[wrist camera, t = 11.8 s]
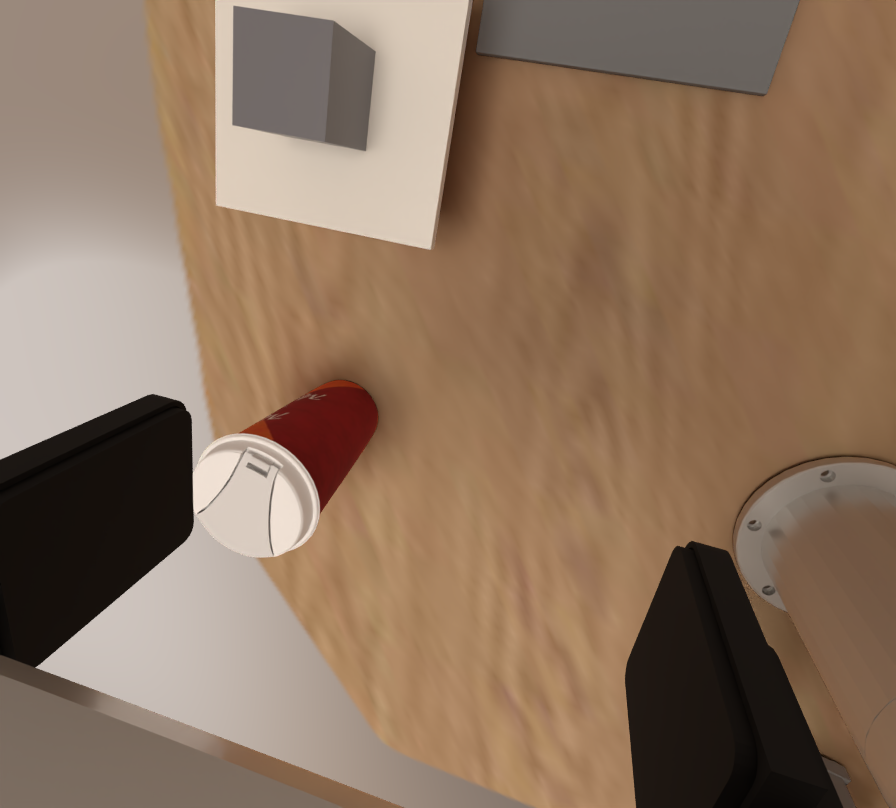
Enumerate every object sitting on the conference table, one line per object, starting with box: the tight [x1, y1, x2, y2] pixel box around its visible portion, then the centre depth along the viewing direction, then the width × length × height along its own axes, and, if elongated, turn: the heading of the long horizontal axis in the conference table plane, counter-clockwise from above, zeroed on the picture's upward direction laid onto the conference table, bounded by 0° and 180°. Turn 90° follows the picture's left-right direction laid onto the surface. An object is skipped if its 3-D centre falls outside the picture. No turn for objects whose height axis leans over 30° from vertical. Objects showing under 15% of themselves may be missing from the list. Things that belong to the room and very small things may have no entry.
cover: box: [215, 0, 473, 250], centre depth 25 cm, size 13×13×6 cm
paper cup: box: [193, 380, 378, 557], centre depth 35 cm, size 8×8×14 cm
